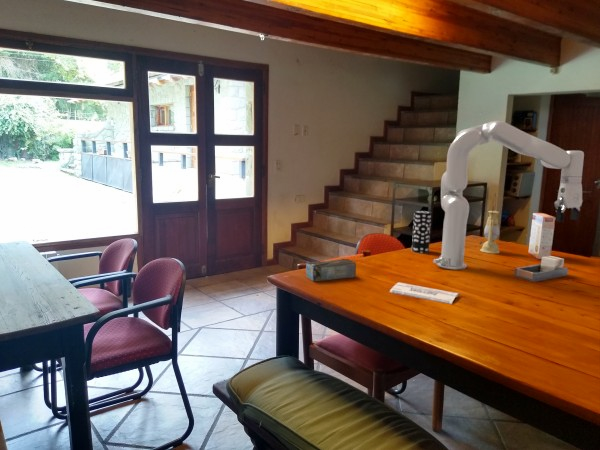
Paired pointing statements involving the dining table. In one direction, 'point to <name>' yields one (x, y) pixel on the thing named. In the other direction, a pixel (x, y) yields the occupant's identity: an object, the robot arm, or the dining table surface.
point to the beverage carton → (330, 270)
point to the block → (551, 263)
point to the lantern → (491, 233)
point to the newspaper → (424, 293)
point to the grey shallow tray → (539, 273)
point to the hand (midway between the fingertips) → (567, 220)
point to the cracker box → (541, 235)
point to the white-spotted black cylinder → (421, 231)
